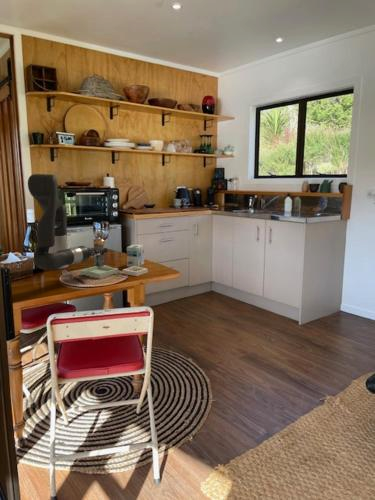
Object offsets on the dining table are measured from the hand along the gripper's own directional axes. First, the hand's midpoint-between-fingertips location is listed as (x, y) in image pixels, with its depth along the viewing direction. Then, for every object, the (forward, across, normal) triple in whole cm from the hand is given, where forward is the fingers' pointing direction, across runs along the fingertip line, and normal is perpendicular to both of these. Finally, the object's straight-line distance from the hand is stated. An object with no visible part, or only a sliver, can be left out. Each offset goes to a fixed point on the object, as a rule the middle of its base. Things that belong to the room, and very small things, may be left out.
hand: (102, 249), depth 187 cm
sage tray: (-2, 0, +12) cm, 12 cm away
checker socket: (+10, -13, +12) cm, 20 cm away
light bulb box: (+24, -2, +12) cm, 27 cm away
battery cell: (-3, 0, +8) cm, 8 cm away
